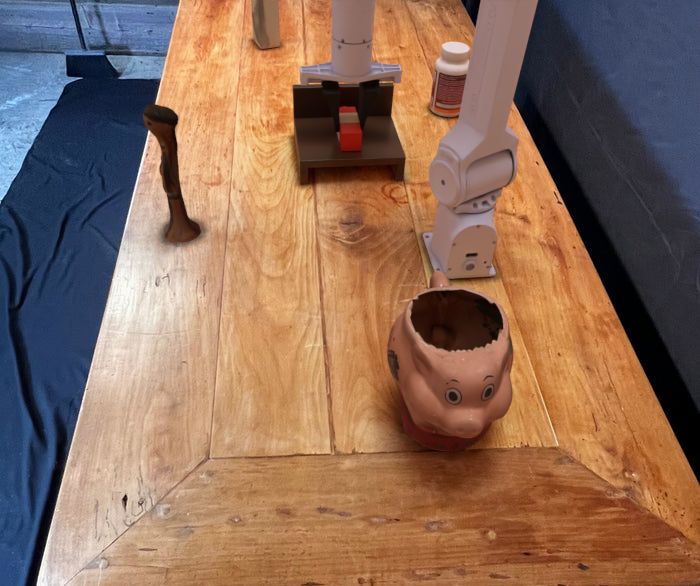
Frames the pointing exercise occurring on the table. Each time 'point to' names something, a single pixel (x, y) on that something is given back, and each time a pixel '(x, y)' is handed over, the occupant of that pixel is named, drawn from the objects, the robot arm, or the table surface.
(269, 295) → the table surface
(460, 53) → the pill bottle
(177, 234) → the figurine
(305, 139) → the shelf
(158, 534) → the table surface
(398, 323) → the decorative planter
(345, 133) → the red and white block
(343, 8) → the robot arm
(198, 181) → the table surface
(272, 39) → the box
